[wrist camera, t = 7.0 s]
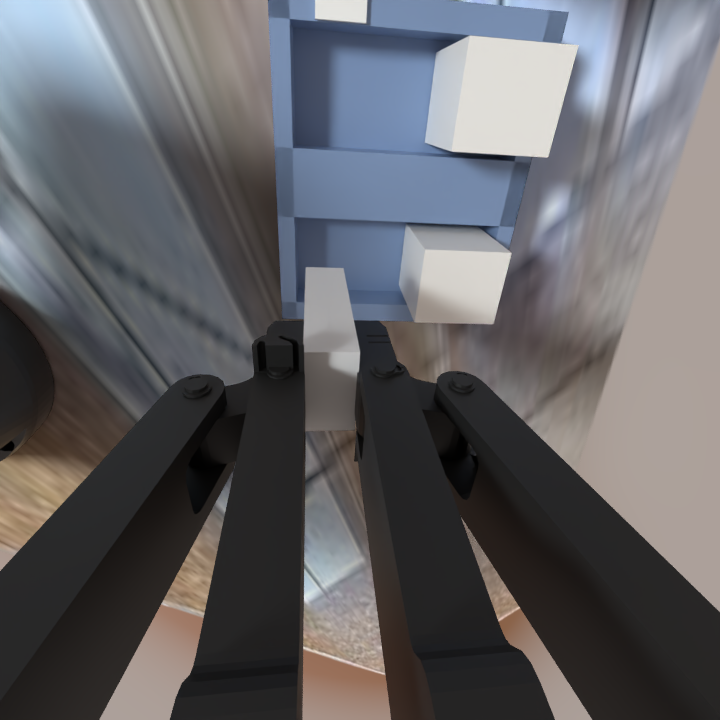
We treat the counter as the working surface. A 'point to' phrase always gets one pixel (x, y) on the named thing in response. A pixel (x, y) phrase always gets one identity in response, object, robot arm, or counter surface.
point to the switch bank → (378, 139)
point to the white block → (452, 273)
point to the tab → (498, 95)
